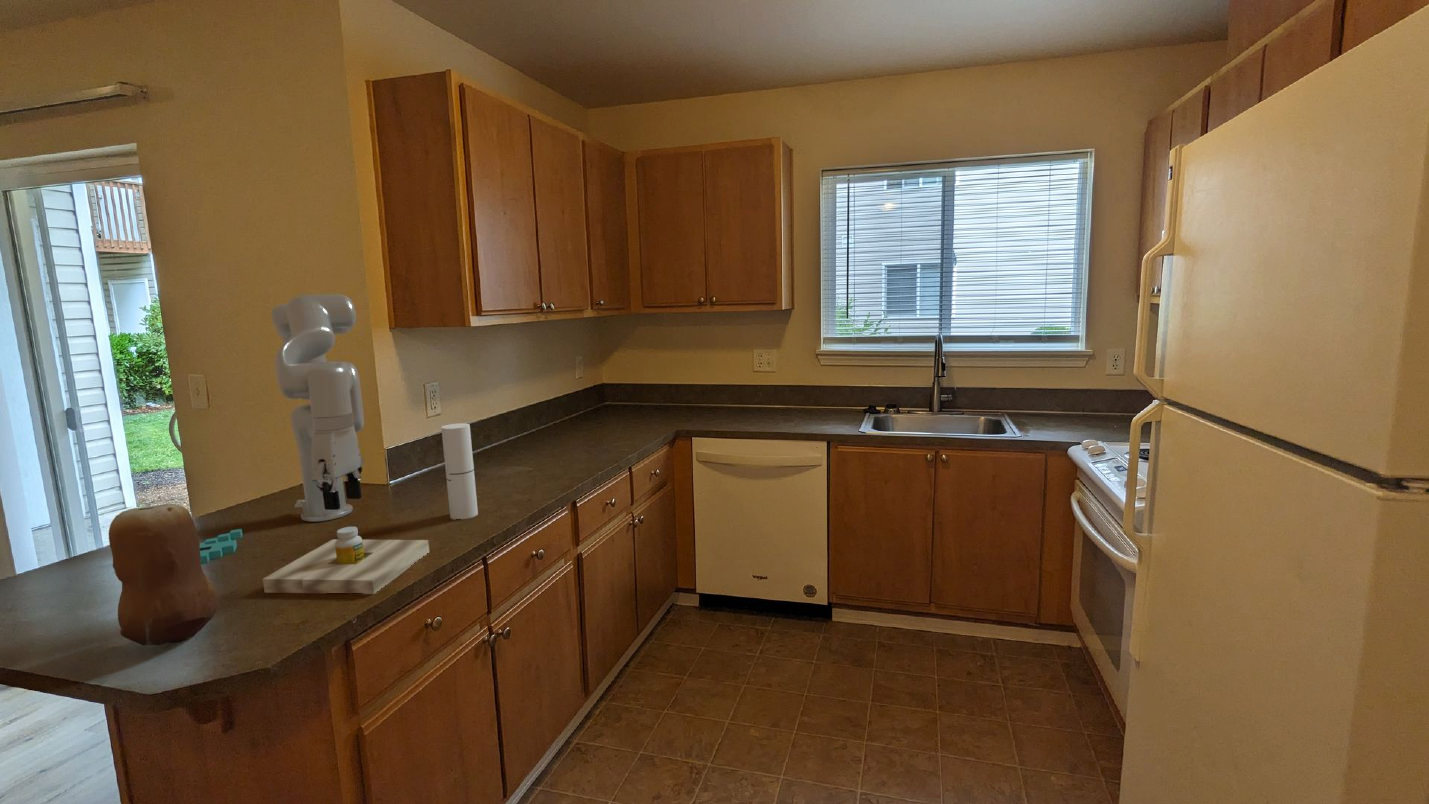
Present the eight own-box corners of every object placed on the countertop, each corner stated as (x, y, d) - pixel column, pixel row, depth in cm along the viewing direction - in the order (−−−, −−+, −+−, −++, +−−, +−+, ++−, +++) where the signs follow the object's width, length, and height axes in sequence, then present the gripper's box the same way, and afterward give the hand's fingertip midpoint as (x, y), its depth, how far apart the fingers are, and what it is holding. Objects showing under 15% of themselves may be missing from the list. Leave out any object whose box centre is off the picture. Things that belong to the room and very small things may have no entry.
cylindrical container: (468, 520, 179) (460, 428, 175) (444, 519, 181) (435, 428, 177) (483, 511, 186) (474, 423, 182) (459, 510, 188) (451, 423, 184)
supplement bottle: (346, 566, 151) (341, 525, 149) (370, 565, 151) (365, 524, 149) (333, 576, 146) (328, 534, 144) (358, 575, 146) (353, 533, 144)
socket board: (264, 592, 138) (262, 578, 138) (333, 551, 160) (332, 539, 159) (374, 594, 136) (372, 580, 136) (429, 552, 158) (428, 540, 157)
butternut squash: (186, 617, 128) (165, 492, 124) (239, 625, 125) (218, 496, 120) (103, 655, 115) (76, 516, 111) (159, 665, 112) (133, 522, 107)
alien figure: (144, 553, 164) (118, 583, 146) (143, 544, 164) (117, 573, 146) (242, 536, 173) (229, 563, 156) (241, 528, 173) (228, 554, 155)
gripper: (343, 415, 151) (352, 491, 154) (287, 432, 134) (299, 517, 137) (374, 415, 151) (383, 491, 154) (322, 431, 134) (333, 517, 137)
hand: (343, 503), depth 145 cm, fingers open, 6 cm apart
